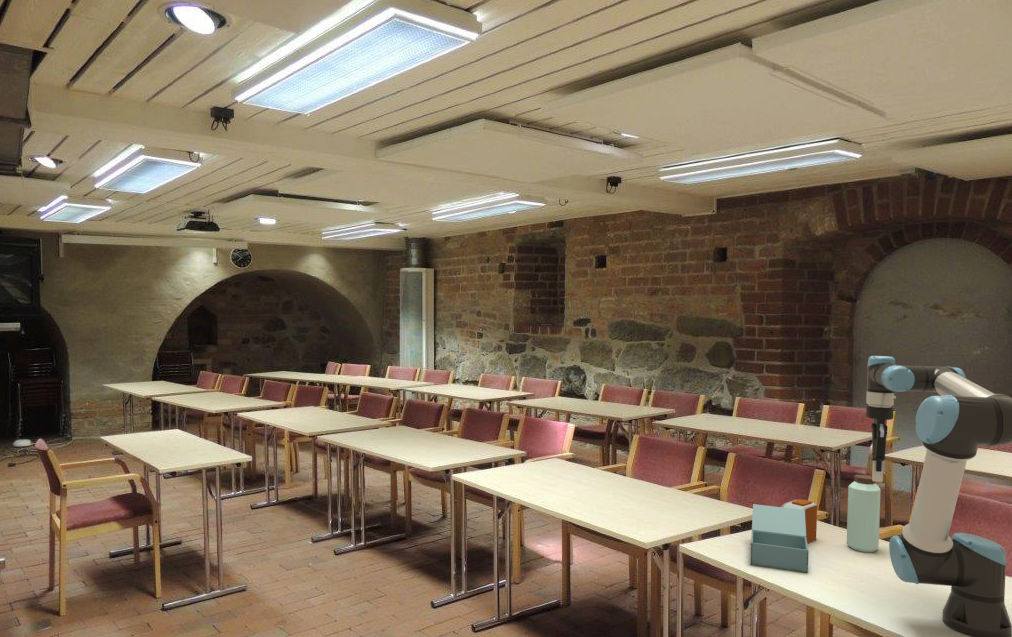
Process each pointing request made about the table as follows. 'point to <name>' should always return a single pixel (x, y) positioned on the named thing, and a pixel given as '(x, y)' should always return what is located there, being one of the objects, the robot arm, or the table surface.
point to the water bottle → (863, 514)
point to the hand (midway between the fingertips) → (877, 481)
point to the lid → (779, 520)
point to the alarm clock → (806, 516)
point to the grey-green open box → (779, 551)
